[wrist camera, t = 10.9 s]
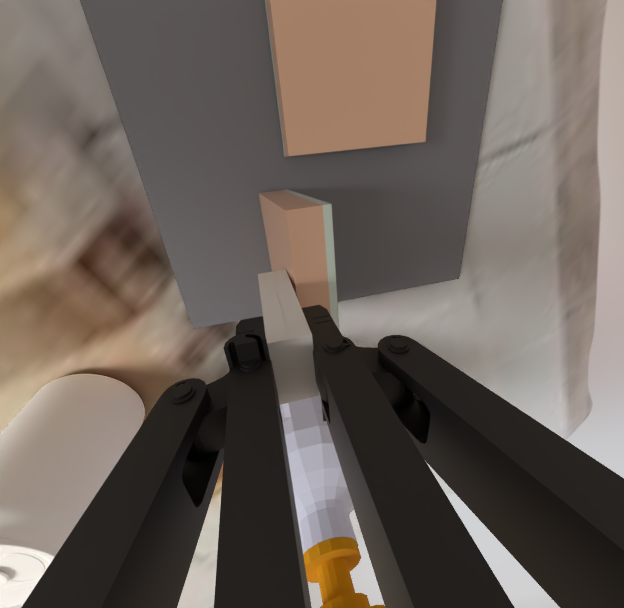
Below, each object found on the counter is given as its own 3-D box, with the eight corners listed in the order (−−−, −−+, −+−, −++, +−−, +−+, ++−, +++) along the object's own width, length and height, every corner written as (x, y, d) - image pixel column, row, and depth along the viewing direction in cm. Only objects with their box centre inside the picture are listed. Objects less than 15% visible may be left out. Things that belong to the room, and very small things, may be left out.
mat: (194, 325, 23) (193, 328, 23) (58, -76, 13) (50, -85, 13) (454, 276, 27) (459, 278, 26) (506, -69, 17) (514, -76, 16)
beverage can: (159, 426, 27) (108, 592, 17) (66, 447, 26) (-54, 642, 15) (126, 359, 23) (32, 518, 13) (15, 381, 22) (-189, 577, 12)
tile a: (288, 156, 17) (425, 141, 18) (262, -67, 13) (441, -65, 14) (283, 156, 19) (408, 143, 20) (259, -37, 15) (418, -38, 16)
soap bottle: (346, 387, 30) (603, 939, 9) (270, 426, 30) (339, 1071, 9) (313, 325, 26) (664, 1117, 4) (224, 370, 26) (140, 1379, 4)
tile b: (278, 308, 23) (307, 378, 16) (258, 193, 19) (285, 210, 12) (303, 302, 24) (343, 367, 16) (289, 188, 20) (334, 203, 12)
